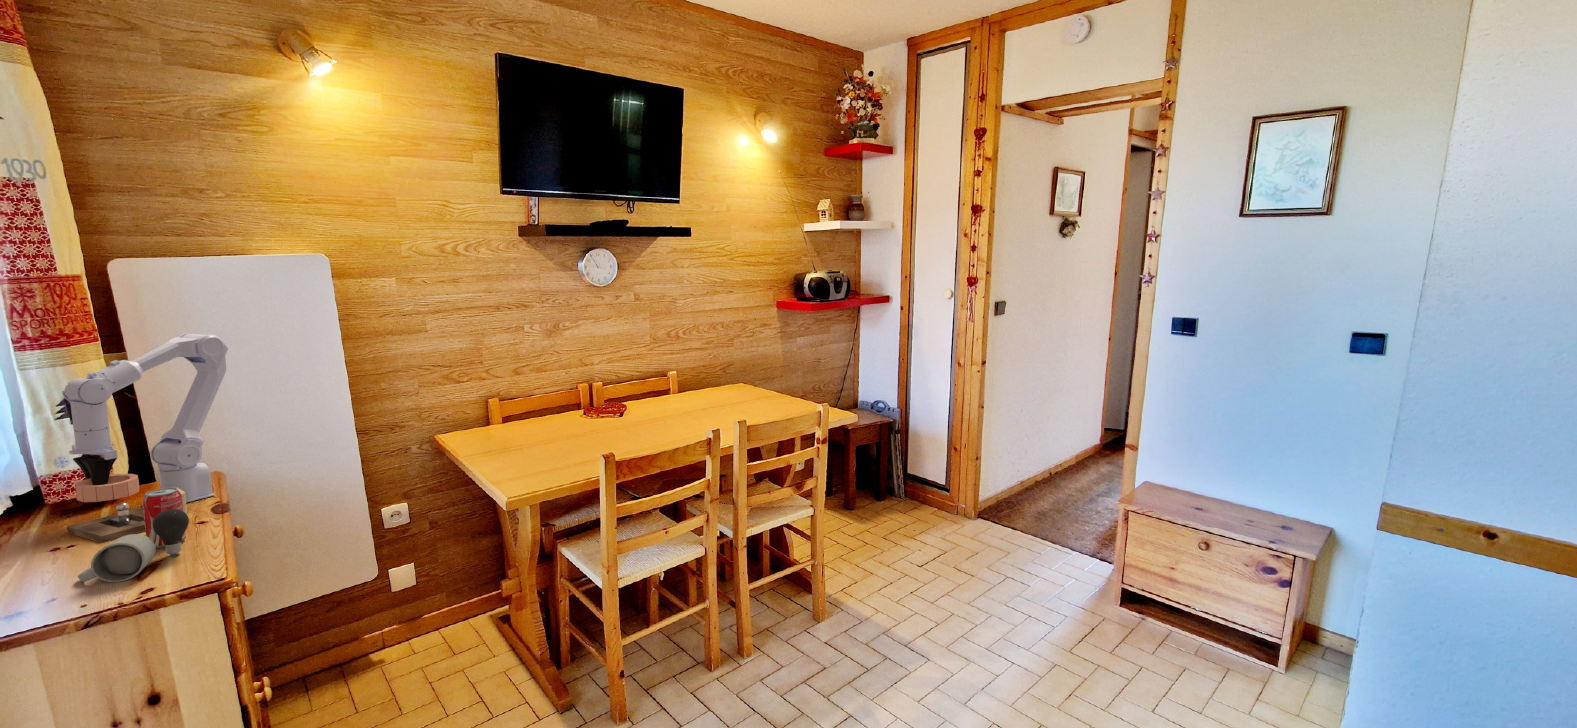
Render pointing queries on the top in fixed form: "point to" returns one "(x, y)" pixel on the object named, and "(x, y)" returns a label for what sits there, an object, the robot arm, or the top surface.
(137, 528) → the hook board
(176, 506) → the soda can
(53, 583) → the top surface
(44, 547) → the top surface
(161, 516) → the light bulb
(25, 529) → the top surface
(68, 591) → the top surface
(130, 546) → the ceramic mug
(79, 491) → the coral ring
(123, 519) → the hook peg
